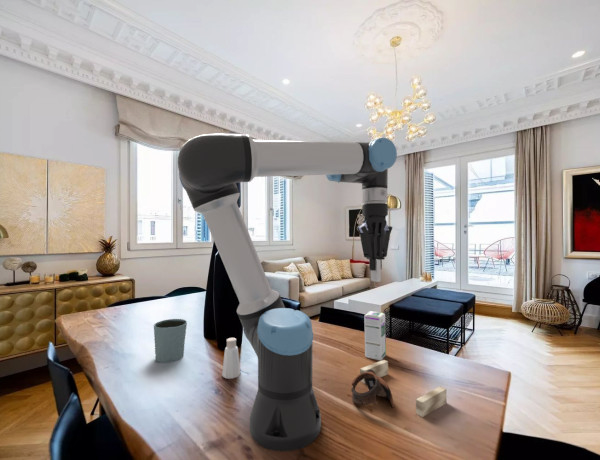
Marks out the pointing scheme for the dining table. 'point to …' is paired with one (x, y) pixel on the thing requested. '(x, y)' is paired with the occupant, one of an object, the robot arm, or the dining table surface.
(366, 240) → the robot arm
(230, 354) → the pepper shaker
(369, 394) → the pottery mug
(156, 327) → the green planter pot
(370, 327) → the syrup box
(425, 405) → the rail cradle
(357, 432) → the dining table surface
